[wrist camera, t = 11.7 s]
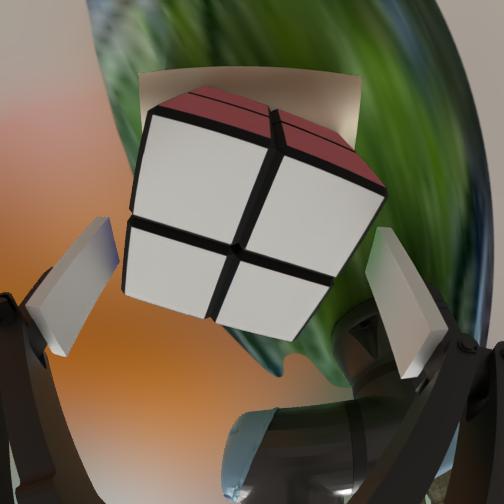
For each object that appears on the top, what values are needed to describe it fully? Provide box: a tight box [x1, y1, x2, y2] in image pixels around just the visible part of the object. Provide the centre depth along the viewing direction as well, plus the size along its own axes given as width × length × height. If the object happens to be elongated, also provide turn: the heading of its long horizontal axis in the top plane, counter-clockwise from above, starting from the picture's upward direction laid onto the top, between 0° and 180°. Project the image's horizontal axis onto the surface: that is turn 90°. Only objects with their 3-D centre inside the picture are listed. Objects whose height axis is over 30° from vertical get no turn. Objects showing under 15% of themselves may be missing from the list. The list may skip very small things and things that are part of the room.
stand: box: [139, 66, 363, 149], centre depth 24 cm, size 15×15×6 cm
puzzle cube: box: [121, 86, 388, 342], centre depth 17 cm, size 10×10×10 cm
